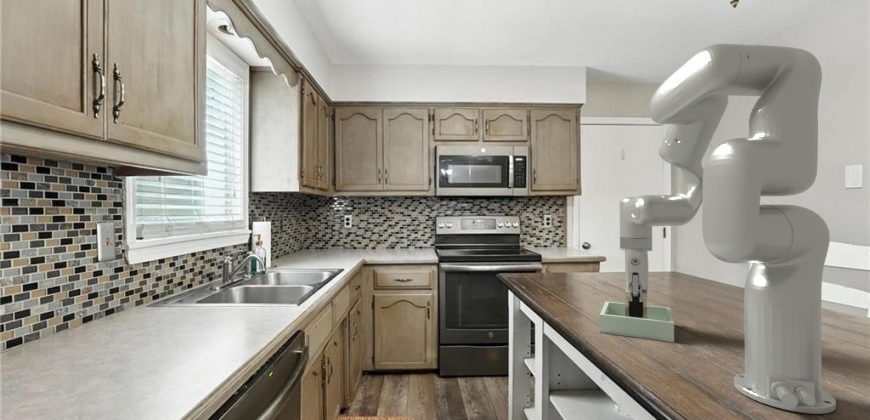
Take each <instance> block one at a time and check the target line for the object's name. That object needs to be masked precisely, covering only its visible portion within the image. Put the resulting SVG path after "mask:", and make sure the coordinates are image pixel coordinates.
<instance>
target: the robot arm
mask: <svg viewBox="0 0 870 420" xmlns="http://www.w3.org/2000/svg"><path fill="white" fill-rule="evenodd" d="M822 79H823V73H822V67H821V64H820V61H819V60H818V58H817V57H816V56H815V54H813V53H811V52H810V51H808V50H805V49H801V48H797V47H791V46H779V45H764V44H741V43H740V44H739V43H715V44H711V45H708V46H705V47H704V48H701V49H700V50H699V51H697V52H696V53H695V54H694V55H692V56H691V57H690V58H688V60H686V61H685V62H684V63H683V64H682V65H680V66H679V67H678V68H677V69H676V70H675V71H673V73H671V74H670V75H669V76H668V77H667V78H666V79H665V80H664V81H662V83H661V84H660V85H659V86H658V87H657V88H656V90H655V92H654V93H653V94H652V97H651V99H650V102H649V104H648V105H649V107H648V113H649V114H648V115H649V117H650V118H651V120H652V121H653V122H655V124H660V125H669V126H668V128H667V130H666V133H665V135H664V138H663V140H662V142H661V145H660V148H658V149H659V150H658V155H659V156H660V158H661V159H662V160H663V161H665V162H666V163H668V164H670V165H672V166H674V167H676V168H678V169H680V170H681V174H682V175H681V176H682V178H681V182H680V185H679V187H678V190H677V192H676V194H643V195H639V196H631V197H630V196H629V197H627V196H626V197H623V198H622V199H620V201H619V250H621V251H624V270H625V271H624V272H625V281H626V283H625V285H626V288H628V289H630V300H629V316H630V317H638V318H643V302H642V289H645V291H647V292H648V290H649V253H648V252H651V251H653V227H674V226H675V227H677V226H678V227H680V226H684V225H686V224H689V223H690V222H691V221H692V220H694V217H695V216H696V215H697V213H698V212H699V209H700V208H701V206H702V237H703V242H704V245H705V246H706V249H707V250H708V252H709V253H710V254H711V255H712V256H713V257H715V259H717V260H720V261H722V262H724V263H729V264H751V266H750V268H749V270H748V272H747V275H746V279H745V282H744V297H743V298H744V299H743V300H744V303H743V304H744V310H743V315H744V314H745V319H744V372H742V373H738V374H736V375H734V377H733V385H734V387H735V389H736V390H737V391H738V392H740V393H741V394H743V395H744V396H746V397H748V398H749V399H752V400H754V401H757V402H759V403H762V404H764V405H768V406H771V407H775V408H777V409H780V410H785V411H789V412H795V413H796V412H797V413H801V414H808V415H809V414H811V415H823V414H829V413H832V412H834V411H836V409H837V403H836V399H835V398H834V396H832V395H831V394H830V393H828V392H827V391H825V390H823V387H822V385H823V384H822V381H823V380H822V379H823V377H822V376H823V375H822V373H823V372H822V291H823V290H822V289H823V288H822V283H823V282H822V281H823V273H824V267H825V263H826V259H827V254H828V251H829V247H830V242H831V241H830V238H831V236H830V230H829V226H828V225H827V223H826V221H825V220H824V218H822V216H821V215H819V214H818V213H817V212H815V211H814V210H811V209H809V208H806V207H803V206H799V205H795V204H761V197H786V196H795V195H799V194H802V193H805V192H806V191H808V190H809V189H810V188H811V187H813V185H814V183H815V181H816V179H817V175H818V163H819V161H818V160H819V159H818V156H819V155H818V153H819V150H818V149H819V116H818V115H819V112H818V111H819V100H820V93H821V88H822V82H823V80H822ZM729 96H732V97H733V96H734V97H735V96H739V97H740V96H747V97H759V98H757V100H756V102H755V103H754V105H753V107H752V109H751V111H750V114H749V119H748V133H749V134H748V137H735V138H731V139H727V140H725V141H722V142H721V143H718V145H717V146H715V147H714V148H713V149H712V151H710V154H708V157H707V158H706V161H705V164H704V166H703V165H702V161H703V159H704V156H705V154H706V152H707V150H708V148H709V147H710V146H709V145H710V143H711V142H712V139H713V138H714V135H715V133H716V131H717V128H718V127H719V124H720V123H721V120H722V118H723V116H724V114H725V112H726V111H727V107H728V104H729ZM632 291H633V292H632ZM639 292H640V293H639ZM639 297H640V299H639Z"/></svg>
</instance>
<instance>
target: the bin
mask: <svg viewBox="0 0 870 420" xmlns="http://www.w3.org/2000/svg"><path fill="white" fill-rule="evenodd" d="M599 333H602V334H607V335H617V336H625V337H629V338H630V337H632V338H639V339H645V340H647V339H648V340H652V341H653V340H654V341H660V342H661V341H662V342H669V343H675V322H674V319H673V315H672V309H671V307H667V306H656V305H648V304H647V319H643V318H634V317H625V302H616V301H605V302H604V304H603V306H602V309H601V311H600V313H599Z"/></svg>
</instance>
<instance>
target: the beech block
mask: <svg viewBox="0 0 870 420" xmlns="http://www.w3.org/2000/svg"><path fill="white" fill-rule="evenodd" d="M632 292H633V291H632ZM639 293H640V292H639ZM639 299H640V297H639ZM629 300H630V289H628V288H627V287H625V291H624V303H625V317H630V316H629ZM642 302H643V319H647V305H648V290H647V291H645V289H643V288H642ZM634 318H638V317H634Z"/></svg>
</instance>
